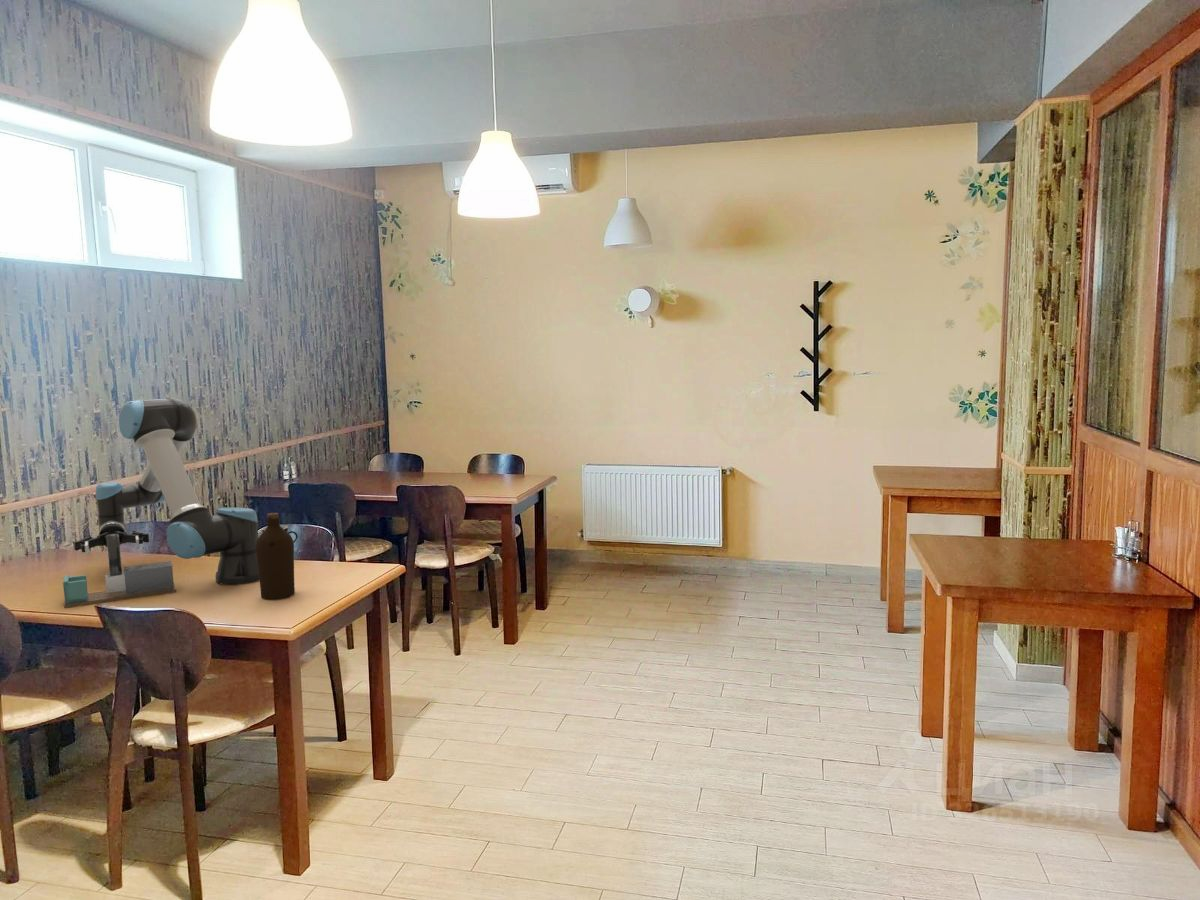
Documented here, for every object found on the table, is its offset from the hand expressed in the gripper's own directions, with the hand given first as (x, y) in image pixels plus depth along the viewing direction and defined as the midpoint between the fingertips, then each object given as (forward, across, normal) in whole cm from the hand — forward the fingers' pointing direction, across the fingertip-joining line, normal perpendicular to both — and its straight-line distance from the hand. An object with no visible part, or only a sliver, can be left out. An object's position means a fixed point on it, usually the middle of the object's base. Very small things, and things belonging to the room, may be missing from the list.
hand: (112, 546), depth 257 cm
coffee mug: (-19, -51, -14) cm, 56 cm away
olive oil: (+33, -42, -14) cm, 55 cm away
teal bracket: (+7, +10, -13) cm, 18 cm away
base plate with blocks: (+7, -1, -14) cm, 15 cm away
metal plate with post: (+7, -6, -12) cm, 15 cm away
